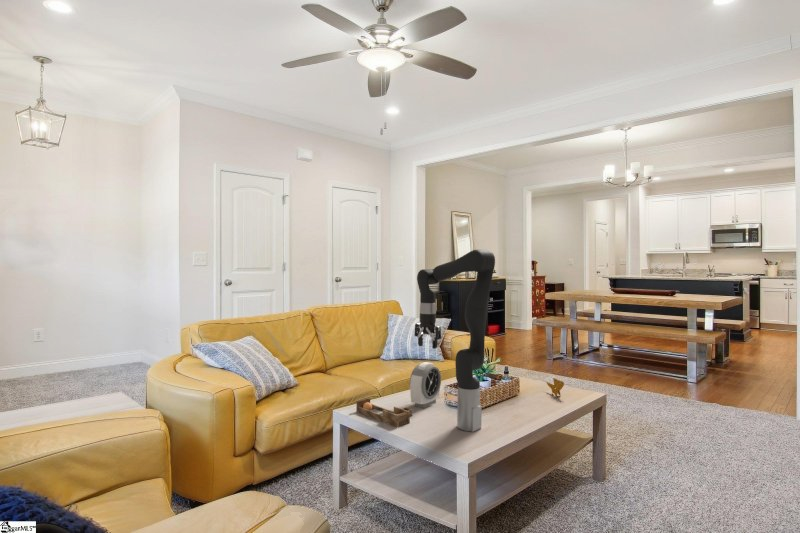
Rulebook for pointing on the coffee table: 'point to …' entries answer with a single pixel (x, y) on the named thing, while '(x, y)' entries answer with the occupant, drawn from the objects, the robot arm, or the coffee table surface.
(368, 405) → the ball
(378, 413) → the lane
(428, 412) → the coffee table surface
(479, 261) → the robot arm
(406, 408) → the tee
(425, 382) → the alarm clock
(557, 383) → the toy
